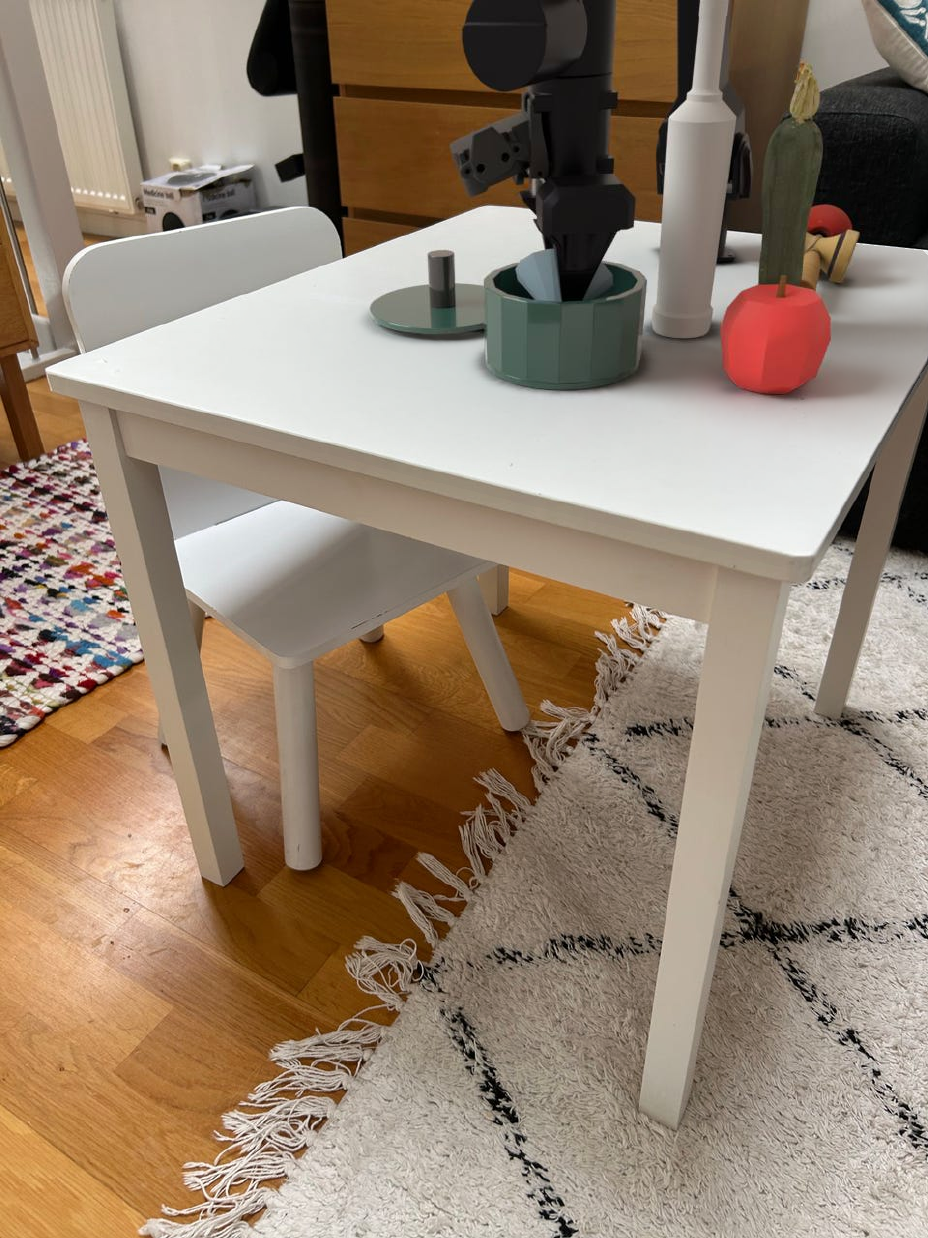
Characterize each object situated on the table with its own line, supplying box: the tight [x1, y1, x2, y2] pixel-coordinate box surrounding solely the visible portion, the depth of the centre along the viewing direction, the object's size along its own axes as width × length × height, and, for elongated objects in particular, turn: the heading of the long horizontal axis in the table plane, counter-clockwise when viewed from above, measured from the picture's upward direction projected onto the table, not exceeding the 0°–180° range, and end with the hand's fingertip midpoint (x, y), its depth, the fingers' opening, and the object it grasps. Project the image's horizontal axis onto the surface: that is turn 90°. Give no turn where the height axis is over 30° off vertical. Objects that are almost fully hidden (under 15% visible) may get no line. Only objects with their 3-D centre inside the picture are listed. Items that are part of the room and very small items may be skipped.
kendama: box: [800, 204, 860, 293], centre depth 92 cm, size 8×6×18 cm
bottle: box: [651, 0, 736, 339], centre depth 76 cm, size 5×5×25 cm
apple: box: [719, 275, 832, 395], centre depth 71 cm, size 8×8×8 cm
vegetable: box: [757, 59, 824, 287], centre depth 78 cm, size 4×4×20 cm
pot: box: [483, 260, 648, 391], centre depth 76 cm, size 12×12×6 cm
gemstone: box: [516, 249, 613, 302], centre depth 74 cm, size 8×8×5 cm
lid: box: [369, 249, 484, 335], centre depth 87 cm, size 13×13×6 cm
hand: (564, 300), depth 75 cm, fingers closed on gemstone, 5 cm apart
